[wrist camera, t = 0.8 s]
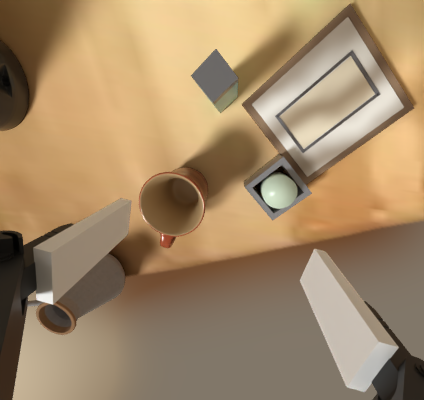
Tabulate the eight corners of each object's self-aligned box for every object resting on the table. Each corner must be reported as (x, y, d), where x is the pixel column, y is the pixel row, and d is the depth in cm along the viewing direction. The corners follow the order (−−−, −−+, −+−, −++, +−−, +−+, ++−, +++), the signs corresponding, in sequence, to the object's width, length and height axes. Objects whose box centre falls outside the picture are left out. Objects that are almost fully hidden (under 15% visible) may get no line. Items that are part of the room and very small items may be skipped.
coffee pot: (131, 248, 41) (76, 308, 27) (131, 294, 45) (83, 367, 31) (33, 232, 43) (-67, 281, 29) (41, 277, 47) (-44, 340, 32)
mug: (169, 155, 35) (144, 163, 25) (219, 169, 35) (212, 183, 25) (157, 217, 39) (131, 245, 29) (202, 231, 38) (190, 263, 29)
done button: (253, 184, 33) (255, 190, 29) (279, 165, 31) (284, 169, 28) (272, 206, 34) (275, 214, 30) (297, 188, 32) (304, 195, 29)
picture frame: (241, 104, 31) (242, 103, 30) (346, 8, 26) (351, 1, 25) (303, 184, 34) (305, 185, 32) (408, 108, 29) (416, 107, 28)
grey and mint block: (205, 95, 31) (190, 75, 21) (222, 78, 30) (216, 48, 20) (220, 113, 32) (212, 102, 21) (237, 96, 31) (238, 77, 20)
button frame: (243, 181, 35) (244, 187, 31) (278, 154, 33) (283, 156, 29) (268, 211, 36) (272, 220, 32) (303, 186, 34) (311, 193, 30)
